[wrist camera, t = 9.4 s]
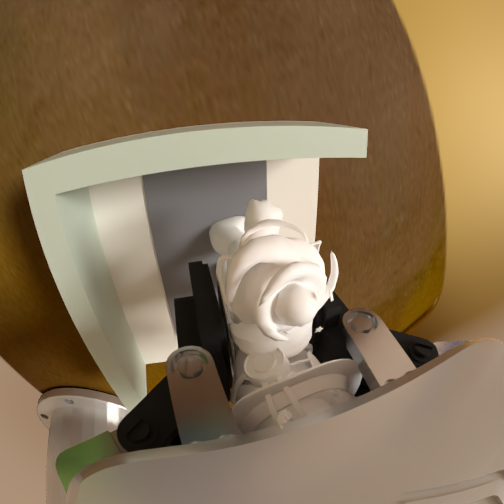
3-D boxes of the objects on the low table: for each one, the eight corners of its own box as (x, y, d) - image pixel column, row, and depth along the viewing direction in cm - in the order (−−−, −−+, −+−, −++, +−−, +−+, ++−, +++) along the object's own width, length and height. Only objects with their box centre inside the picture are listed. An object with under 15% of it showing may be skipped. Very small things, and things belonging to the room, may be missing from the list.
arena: (301, 326, 20) (329, 370, 17) (130, 359, 18) (129, 413, 14) (314, 121, 14) (367, 129, 10) (64, 151, 11) (21, 170, 7)
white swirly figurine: (187, 174, 13) (225, 424, 2) (267, 167, 13) (489, 320, 3) (206, 323, 17) (253, 521, 6) (268, 313, 17) (353, 490, 7)
